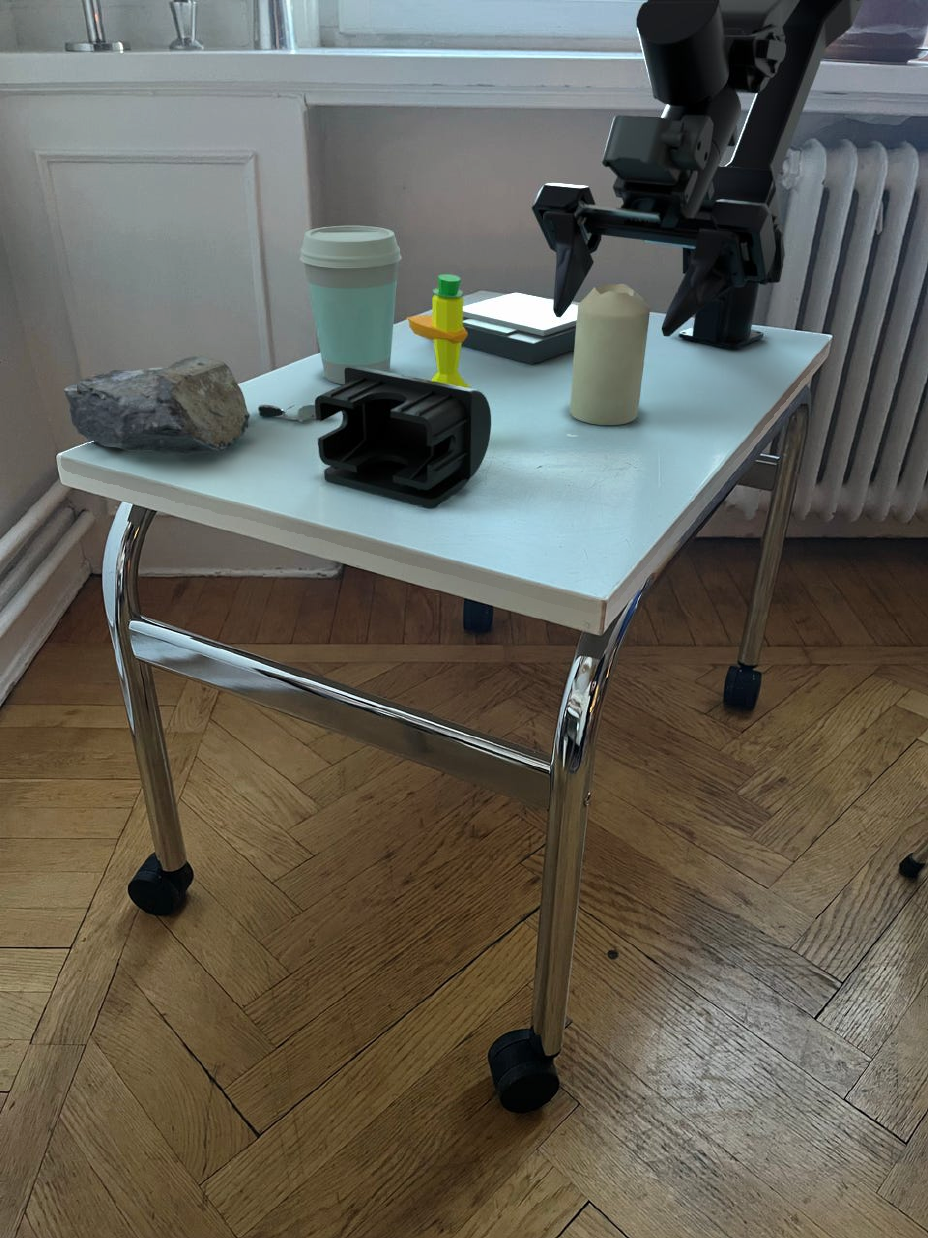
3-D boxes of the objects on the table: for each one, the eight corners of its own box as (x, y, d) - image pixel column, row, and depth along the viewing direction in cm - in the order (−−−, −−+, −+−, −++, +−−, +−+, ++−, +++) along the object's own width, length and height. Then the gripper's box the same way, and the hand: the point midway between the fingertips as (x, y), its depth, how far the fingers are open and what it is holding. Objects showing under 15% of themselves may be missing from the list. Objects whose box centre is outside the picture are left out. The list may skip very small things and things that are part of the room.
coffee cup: (420, 368, 84) (418, 229, 78) (375, 396, 78) (369, 246, 71) (340, 356, 87) (332, 221, 81) (290, 382, 80) (277, 236, 74)
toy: (223, 428, 72) (227, 417, 73) (325, 422, 72) (327, 412, 74) (220, 413, 71) (224, 403, 73) (323, 407, 71) (325, 397, 73)
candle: (636, 428, 72) (651, 297, 66) (566, 423, 73) (575, 293, 67) (638, 405, 76) (653, 280, 71) (573, 400, 77) (582, 277, 72)
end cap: (491, 473, 64) (494, 378, 60) (439, 511, 59) (439, 410, 55) (373, 445, 68) (369, 355, 65) (315, 479, 63) (307, 382, 59)
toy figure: (395, 431, 71) (390, 269, 64) (430, 421, 73) (428, 262, 66) (453, 457, 66) (454, 286, 60) (488, 445, 69) (493, 278, 62)
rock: (266, 422, 73) (261, 354, 70) (216, 473, 63) (207, 396, 60) (93, 410, 74) (81, 343, 71) (18, 459, 64) (1, 383, 61)
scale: (512, 314, 101) (513, 290, 100) (610, 337, 94) (612, 311, 92) (431, 338, 93) (431, 311, 91) (532, 364, 86) (533, 336, 84)
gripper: (551, 65, 69) (468, 241, 67) (796, 72, 61) (709, 274, 59) (589, 171, 79) (518, 327, 77) (805, 190, 70) (731, 366, 68)
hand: (608, 323), depth 70 cm, fingers open, 9 cm apart
